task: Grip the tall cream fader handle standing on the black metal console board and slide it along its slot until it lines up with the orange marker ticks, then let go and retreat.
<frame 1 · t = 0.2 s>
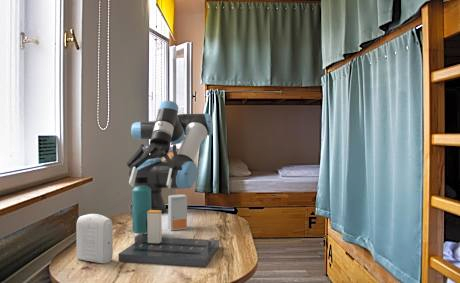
hand: (149, 185, 118), 16 cm above the table, tool tilted 35°, fingers open, 13 cm apart
beverage bottle: (142, 236, 114), on the table
skincare box: (177, 229, 122), on the table
console: (171, 253, 96), on the table
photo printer: (94, 260, 92), on the table
fader: (154, 226, 99), point 7 cm above the table, slide at -6.0 cm
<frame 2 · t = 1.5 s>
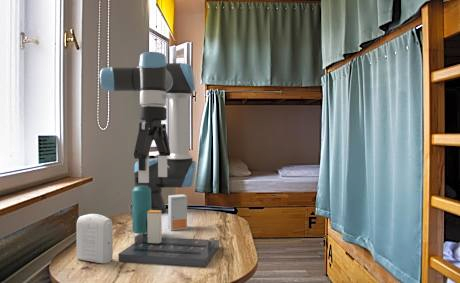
hand: (153, 179, 99), 21 cm above the table, tool pointing down, fingers open, 13 cm apart
nothing on the table moved.
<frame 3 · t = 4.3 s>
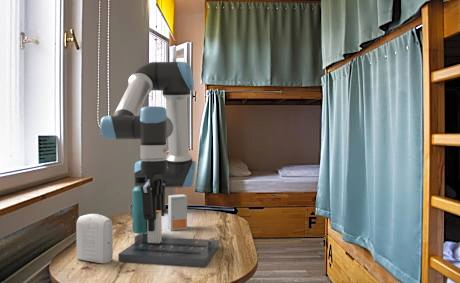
hand: (154, 240, 99), 3 cm above the table, tool pointing down, fingers closed on fader, 2 cm apart
fader: (154, 226, 99), point 7 cm above the table, slide at -6.0 cm, touching gripper
everything else where it was.
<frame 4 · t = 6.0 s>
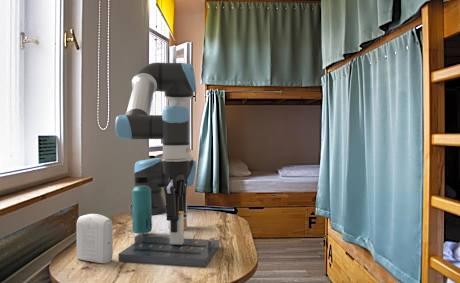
hand: (176, 241, 98), 3 cm above the table, tool pointing down, fingers closed on fader, 2 cm apart
fader: (176, 227, 98), point 7 cm above the table, slide at 0.8 cm, touching gripper
everything else where it was.
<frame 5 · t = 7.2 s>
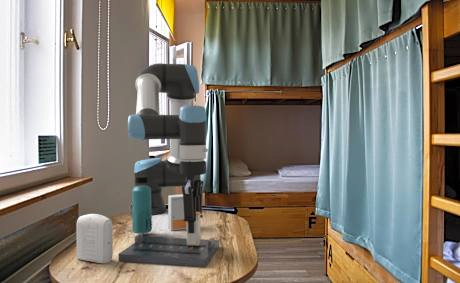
hand: (193, 242, 97), 3 cm above the table, tool pointing down, fingers closed on fader, 2 cm apart
fader: (193, 228, 97), point 7 cm above the table, slide at 5.8 cm, touching gripper
everything else where it was.
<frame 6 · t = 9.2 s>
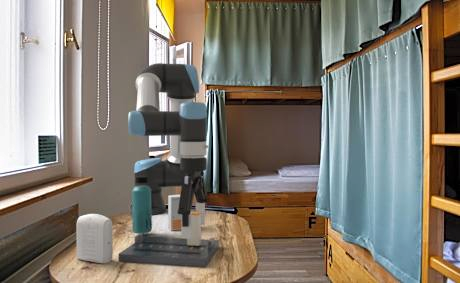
hand: (193, 230, 97), 6 cm above the table, tool pointing down, fingers open, 13 cm apart
fader: (194, 228, 97), point 7 cm above the table, slide at 6.0 cm
everything else where it was.
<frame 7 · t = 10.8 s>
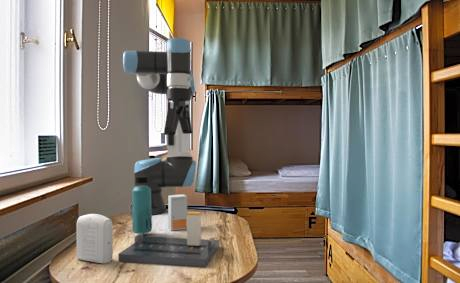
hand: (179, 154, 110), 27 cm above the table, tool pointing down, fingers open, 13 cm apart
nothing on the table moved.
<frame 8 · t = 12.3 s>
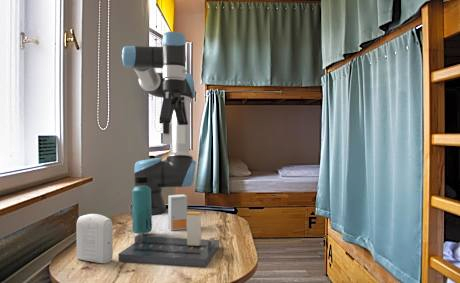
hand: (174, 144, 113), 31 cm above the table, tool pointing down, fingers open, 13 cm apart
nothing on the table moved.
at the end: fader slide at 6.0 cm; the gripper is holding nothing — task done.
